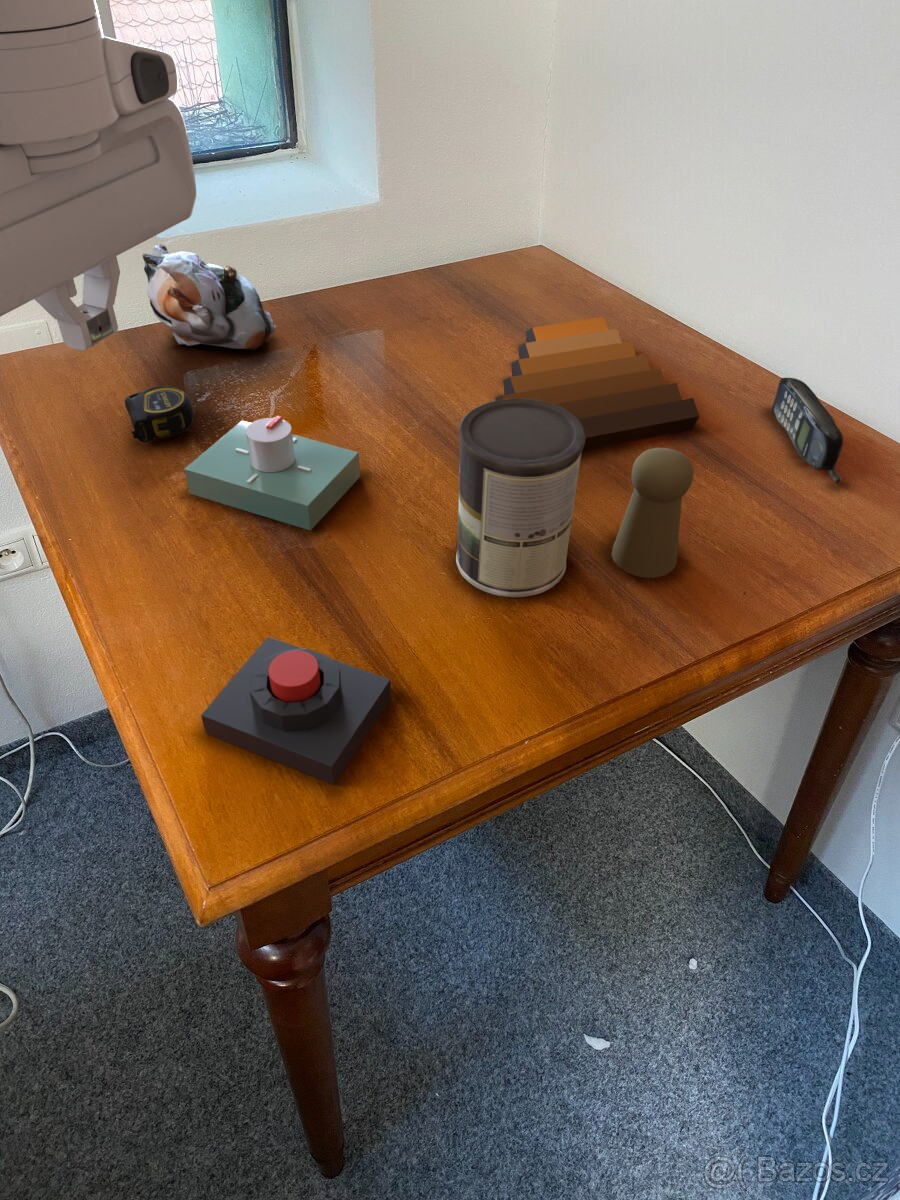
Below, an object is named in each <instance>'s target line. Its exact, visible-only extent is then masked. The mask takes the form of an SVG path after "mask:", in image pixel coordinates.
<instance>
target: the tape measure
mask: <svg viewBox="0 0 900 1200" xmlns="http://www.w3.org/2000/svg"><path fill="white" fill-rule="evenodd" d="M124 406H125V409H126V411H127V414H128V416H129V418H130V422H131V424H132V428H133V430H131V431H130V433H131V435H132V438H133V440H137V441H138V442H139V443H143V444H146V443H149V442H153V440H154V439H170V438H174V437H176V436H180V435H181V434H183V433H184V432H186V431H188V429H189V428H190V427H191V426H192V424H193V421H194V417H195V413H194V407H193V404H192V401H191V399H190V397H189V395H187V394H186V392H185V391H184V390H182V389H181V388H180V387H175V386H172V385H157V386H152V387H150V388H146V389H144V390H142V391H139V392H135V393H133V394H130V395H128V396H126V397H125V399H124Z"/></svg>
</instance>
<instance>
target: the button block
mask: <svg viewBox="0 0 900 1200" xmlns="http://www.w3.org/2000/svg"><path fill="white" fill-rule="evenodd" d="M289 651H304V652H307V653H309V654H311V655H312V656H313V657H314V658H315V659H316V660H317V662H318V666H319V674H320V687H319V689H318V691H317V692H316V693H315V694H314V695H313V696H312V697H311V698H309V699H307V700H304V701H301V702H285V701H282V700H280V699H278V698H277V697H276V696H275V695H274V694H273V692H272V689H271V684H270V679H269V673H268V670H269V666H270V664H271V662H272V661H273V660H274V659H275V658H276V657H277V656H279V655H280V654H282V653H285V652H289ZM391 682H392V681H391V679H390V678H387V677H385V676H381V675H378V674H376V673H373V672H370V671H368V670H364V669H362V668H359V667H356V666H353V665H350V664H347V663H345V662H341V661H339V660H336V659H333V658H331V657H329V656H328V655H327V654H324V653H321V652H319V651H316V650H312V649H309V648H302V647H300V646H296V645H293V644H291V643H288V642H285V641H282V640H279V639H276V638H274V637H271V636H267V637H266V638H265V639H264V640H263V642H262V643H261V644H260V645H259V647H258V648H257V649H256V650H255V651H254V652H253V653H252V655H251V656H250V657H249V658H248V659H247V660H246V662H244V664H243V665H242V666H241V667H240V668H239V670H237V672H236V673H235V675H234V676H233V677H232V678H231V679H230V680H229V681H228V683H227V684H226V685H225V686H224V688H222V690H221V691H220V692H219V693H218V695H217V696H216V697H215V698H214V699H213V700H212V702H210V704H209V705H208V706H207V707H206V708H205V710H204V711H203V712H202V713H201V715H200V717H201V721H202V725H203V728H204V732H205V734H206V735H208V736H210V737H213V738H215V739H218V740H220V741H223V742H225V743H228V744H230V745H232V746H235V747H238V748H240V749H242V750H245V751H248V752H250V753H252V754H255V755H257V756H260V757H262V758H265V759H268V760H271V761H273V762H276V763H278V764H280V765H283V766H285V767H287V768H290V769H293V770H296V771H297V772H300V773H302V774H305V775H308V776H309V777H312V778H315V779H318V780H320V781H323V782H325V783H327V784H331V785H333V786H335V785H336V783H337V782H338V780H339V779H340V777H341V775H342V774H343V772H344V771H345V769H346V767H348V765H349V764H350V762H351V760H352V759H353V757H354V756H355V755H356V753H357V752H358V751H359V748H360V747H361V745H362V744H363V742H364V740H365V739H366V737H367V736H368V735H369V733H370V732H371V730H372V728H373V727H374V726H375V724H376V722H377V721H378V719H379V718H380V717H381V714H383V712H384V710H385V709H386V707H387V706H388V704H389V703H390V701H391V699H392V685H391Z"/></svg>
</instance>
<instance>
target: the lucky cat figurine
mask: <svg viewBox="0 0 900 1200" xmlns="http://www.w3.org/2000/svg"><path fill="white" fill-rule="evenodd" d="M142 260H143V261H144V268H143V271H144V273H145V275H146V277H147V282H148V283H147V297H148V300H149V305H150V307H151V310H152V312H153V314H154V316H155V317H156V318H157V319H158V320H159V321H160V322H161V323H162V324H163V325H165V326H166V327H167V328H168V329H169V330H171V331H172V334H173V337H174V339H175V341H176V342H177V344H178V345H179V346H185V345H186V346H188V347H189V346H195V345H200V344H202V345H208V346H214V347H223V348H229V349H238V350H239V349H242V350H248V351H255V350H257V349H258V348H259V347H261V346H262V344H263V343H265V342H266V341H267V340H268V338H269V336H270V335H271V334H274V333H275V331H276V328H277V326H276V325H275V322H274V320H273V317H272V315H271V314H270V312H269V311H267V310H265V309H264V308H263V304H262V301H261V298H260V295H259V293H258V292H257V291H258V290H257V289H256V288H255V286H254V285H253V284H252V283H250V281H249V280H248V279H247V278H245V277H244V276H243V275H241V274H239V273H238V271H237V270H236V268H235V267H233V266H232V265H231V264H226V265H225V266H224V267H222V266H219V265H217V264H214V263H205V261H204V260H203V259H202V258H201V257H200V256H199V255H198V254H197V253H194V252H192V251H175V252H172V253H169V250H168V248H167V246H166V245H164V244H158V245H154V246H153V248H152V254H150V253H143V254H142Z"/></svg>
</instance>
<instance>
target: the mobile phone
mask: <svg viewBox="0 0 900 1200" xmlns="http://www.w3.org/2000/svg"><path fill="white" fill-rule="evenodd" d="M771 413H772V414H773V416H774V418H776V420H777V422H778V423H779V424H780V426H781V428H782V429H783V430H784V432H785V433H786V435H787V436H788V437H789V439H790V441H791V442H792V445H793V447H794V448H795V450H796V452H797V454H798V456H799V457H800V458H801V459H802V460H803V461H804V462H805V463H807V465H809V466H811V467H812V468H813V469H814V470H817V471H824V472H826V473H827V475H829V477H830V478H831V479H832V480H833V482H835V483H836V484H839V483H841V482H842V478H841V476H840V475H839V474H838V473H837V472H836V464H837V462H838V459H839V457H840V455H841V452H842V448H843V442H844V437H843V433H842V432H841V430H840V429H839V427H838V426H837V424H836V421H835V419H834V418H833V416H832V415H831V414H830V412H829V411H828V410H827V409H826V407H825V406H824V405H823V404H822V402H821V401H820V400H819V397H818V396H817V395H816V394H815V393H814V391H813V390H812V389H811V388H810V387H809V385H807V384H806V383H805V382H804V381H802V380H800V379H798V378H795V377H782V378H780V380H779V383H778V385H777V389H776V392H775V397H774V400H773V403H772V407H771Z"/></svg>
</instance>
